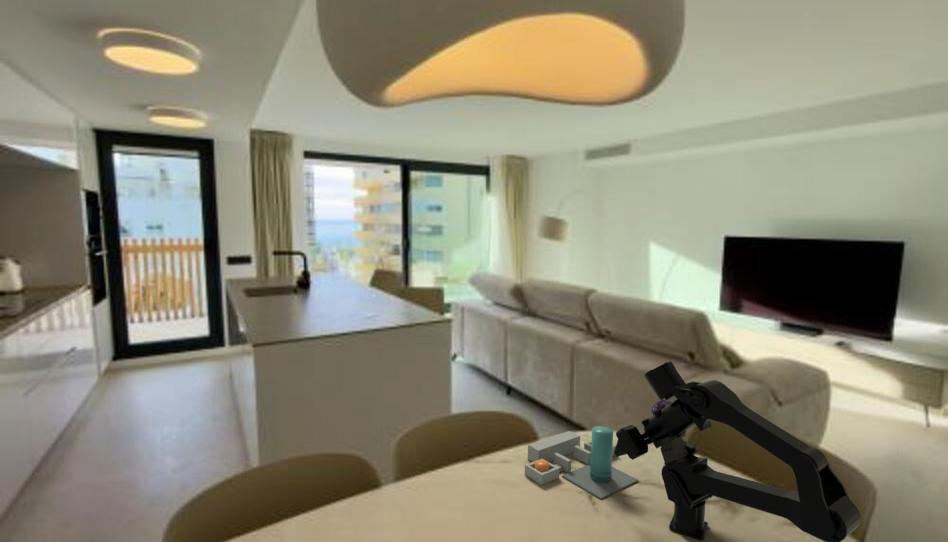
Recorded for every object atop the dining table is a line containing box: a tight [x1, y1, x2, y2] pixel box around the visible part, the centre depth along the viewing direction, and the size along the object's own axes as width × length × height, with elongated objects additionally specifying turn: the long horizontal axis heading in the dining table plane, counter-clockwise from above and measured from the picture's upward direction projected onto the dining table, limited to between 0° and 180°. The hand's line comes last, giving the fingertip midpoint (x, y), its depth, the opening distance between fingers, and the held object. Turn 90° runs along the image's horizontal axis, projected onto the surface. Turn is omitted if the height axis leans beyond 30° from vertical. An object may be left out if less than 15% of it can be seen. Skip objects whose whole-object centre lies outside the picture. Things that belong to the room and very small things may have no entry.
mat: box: [561, 464, 639, 500], centre depth 115 cm, size 12×14×1 cm
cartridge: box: [590, 425, 614, 483], centre depth 114 cm, size 5×5×12 cm
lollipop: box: [651, 399, 673, 416], centre depth 129 cm, size 7×7×15 cm
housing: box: [524, 430, 616, 486], centre depth 124 cm, size 12×28×4 cm, turn 126°
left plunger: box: [535, 460, 550, 473], centre depth 116 cm, size 4×4×3 cm
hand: (628, 449), depth 108 cm, fingers open, 9 cm apart
